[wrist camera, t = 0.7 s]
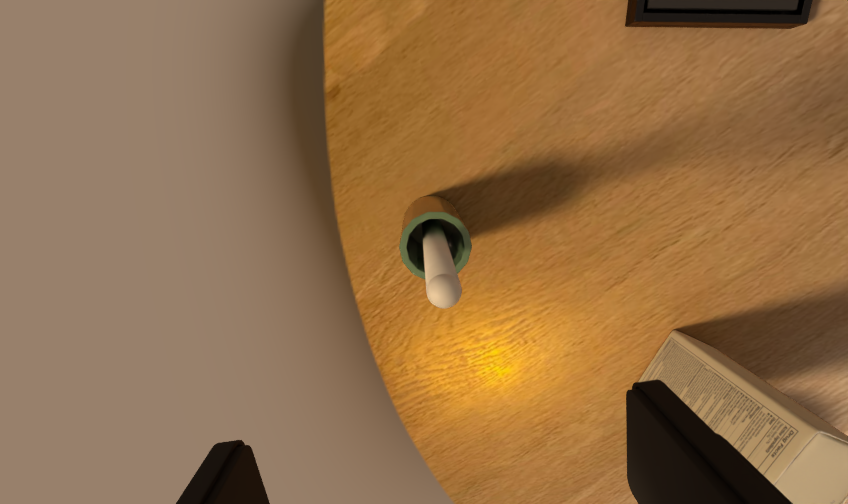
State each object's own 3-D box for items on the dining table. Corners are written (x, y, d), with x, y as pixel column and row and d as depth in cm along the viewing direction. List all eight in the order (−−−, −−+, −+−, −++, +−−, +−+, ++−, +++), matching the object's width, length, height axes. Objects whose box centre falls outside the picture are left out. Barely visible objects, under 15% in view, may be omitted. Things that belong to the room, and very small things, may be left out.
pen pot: (402, 195, 29) (398, 211, 22) (459, 195, 29) (473, 211, 22) (403, 249, 30) (399, 280, 23) (457, 249, 30) (470, 280, 23)
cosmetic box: (673, 406, 34) (810, 546, 22) (629, 388, 33) (745, 521, 22) (717, 345, 32) (888, 460, 21) (671, 324, 32) (821, 431, 20)
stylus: (421, 214, 28) (426, 279, 15) (440, 214, 29) (464, 279, 15) (421, 233, 29) (426, 314, 15) (440, 233, 29) (463, 314, 15)
